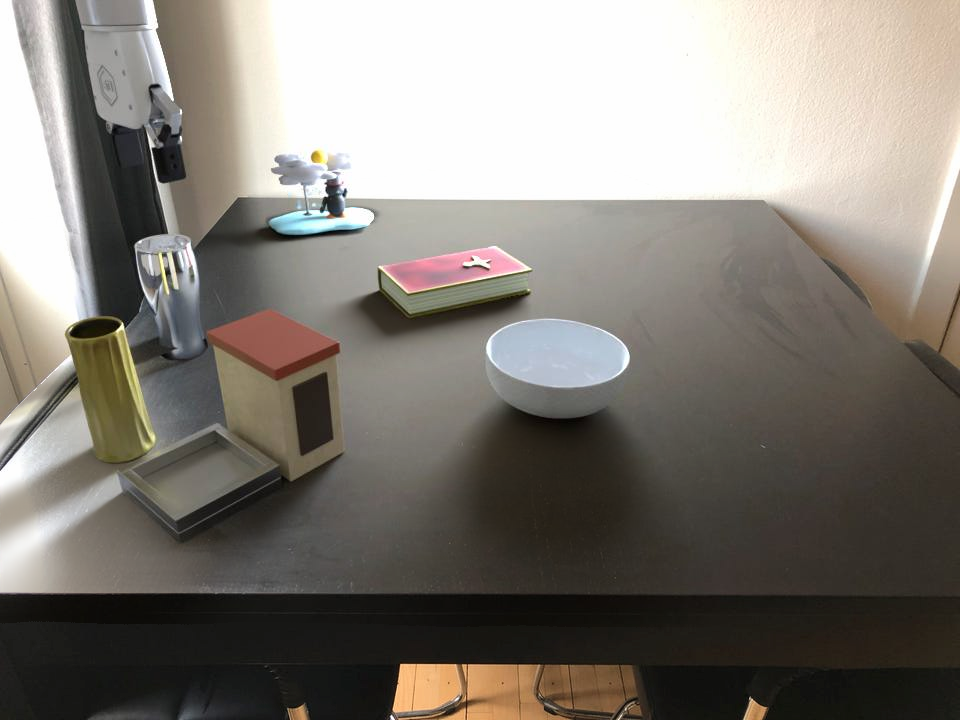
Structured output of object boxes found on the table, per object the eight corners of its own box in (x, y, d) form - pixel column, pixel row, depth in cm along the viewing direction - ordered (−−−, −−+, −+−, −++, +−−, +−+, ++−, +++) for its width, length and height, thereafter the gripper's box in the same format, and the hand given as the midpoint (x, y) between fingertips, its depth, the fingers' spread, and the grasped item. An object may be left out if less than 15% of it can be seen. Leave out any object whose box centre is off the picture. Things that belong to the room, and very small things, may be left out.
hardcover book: (378, 288, 117) (377, 264, 115) (493, 267, 126) (494, 243, 124) (408, 318, 108) (407, 291, 106) (530, 292, 117) (532, 267, 115)
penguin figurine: (370, 215, 150) (365, 138, 143) (380, 232, 141) (375, 151, 134) (268, 223, 144) (258, 144, 137) (271, 241, 135) (261, 158, 128)
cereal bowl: (592, 458, 79) (598, 402, 75) (458, 414, 86) (458, 361, 82) (643, 387, 92) (650, 337, 88) (523, 354, 99) (525, 306, 95)
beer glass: (196, 333, 103) (177, 229, 96) (221, 350, 99) (202, 243, 91) (147, 349, 99) (123, 241, 91) (170, 367, 94) (146, 257, 87)
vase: (131, 424, 83) (101, 309, 76) (168, 441, 80) (141, 323, 73) (81, 452, 78) (45, 332, 71) (119, 470, 76) (85, 347, 69)
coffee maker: (182, 545, 66) (153, 422, 60) (120, 490, 73) (88, 374, 67) (348, 451, 79) (339, 342, 73) (283, 411, 86) (269, 308, 79)
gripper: (46, 10, 81) (86, 166, 90) (122, 21, 72) (158, 194, 80) (113, 7, 86) (145, 154, 95) (192, 16, 77) (220, 180, 85)
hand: (151, 172), depth 87 cm, fingers open, 9 cm apart
